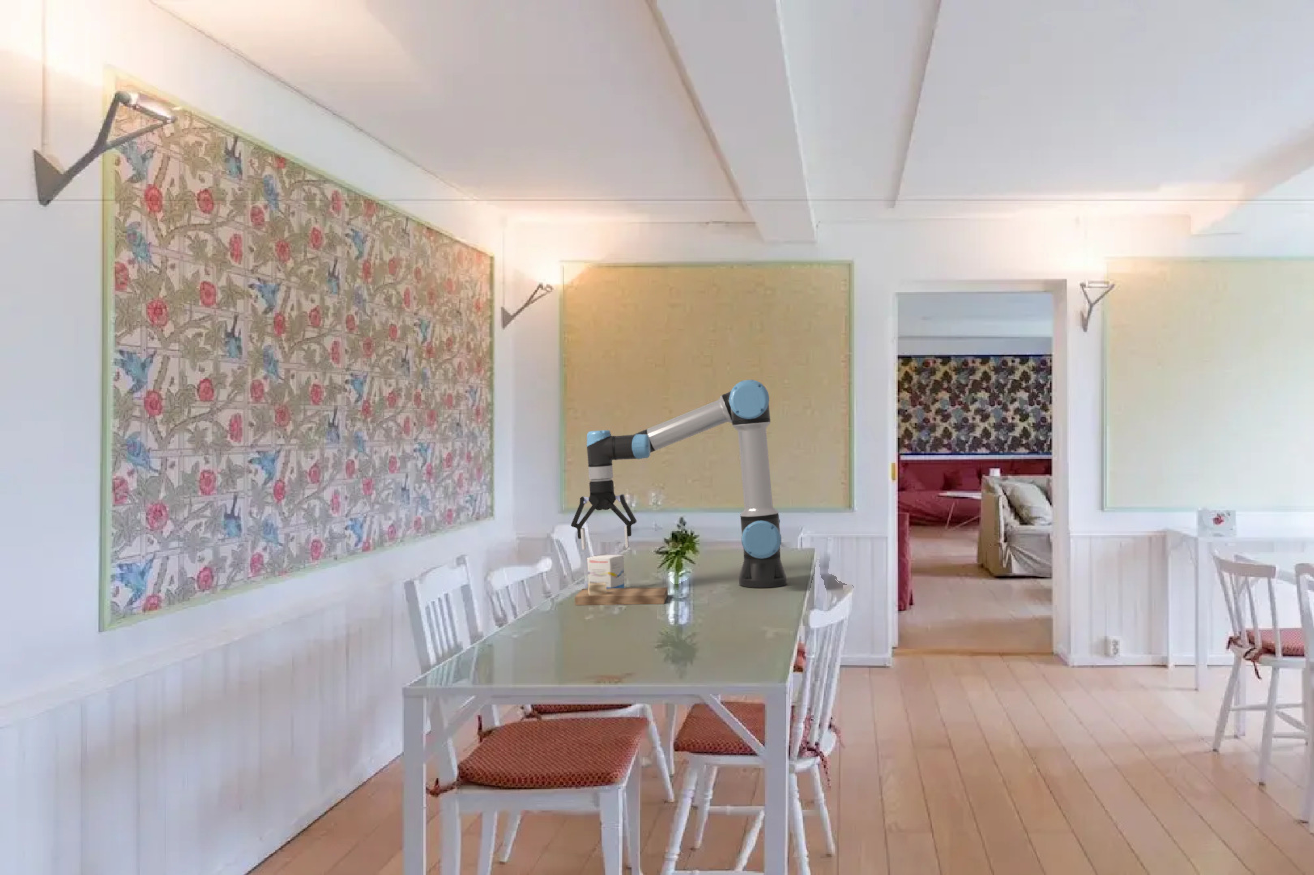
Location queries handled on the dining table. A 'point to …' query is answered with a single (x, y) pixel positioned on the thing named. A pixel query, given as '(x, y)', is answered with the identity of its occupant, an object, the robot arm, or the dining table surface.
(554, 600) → the dining table surface
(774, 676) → the dining table surface
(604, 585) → the beech offcut
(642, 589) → the board
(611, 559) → the ink box
